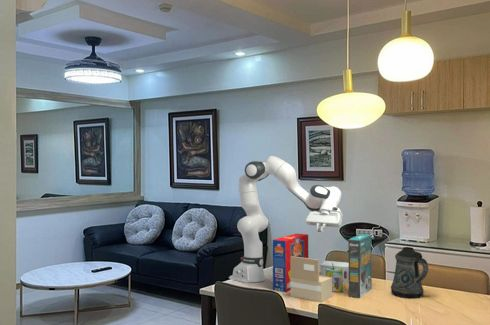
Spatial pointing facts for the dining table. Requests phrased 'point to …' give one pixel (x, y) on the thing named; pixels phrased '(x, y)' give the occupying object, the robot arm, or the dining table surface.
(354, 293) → the cake mix box
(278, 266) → the pasta box
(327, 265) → the supplement box
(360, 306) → the dining table surface
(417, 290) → the beer stein
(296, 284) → the carton
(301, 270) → the flap
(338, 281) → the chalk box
